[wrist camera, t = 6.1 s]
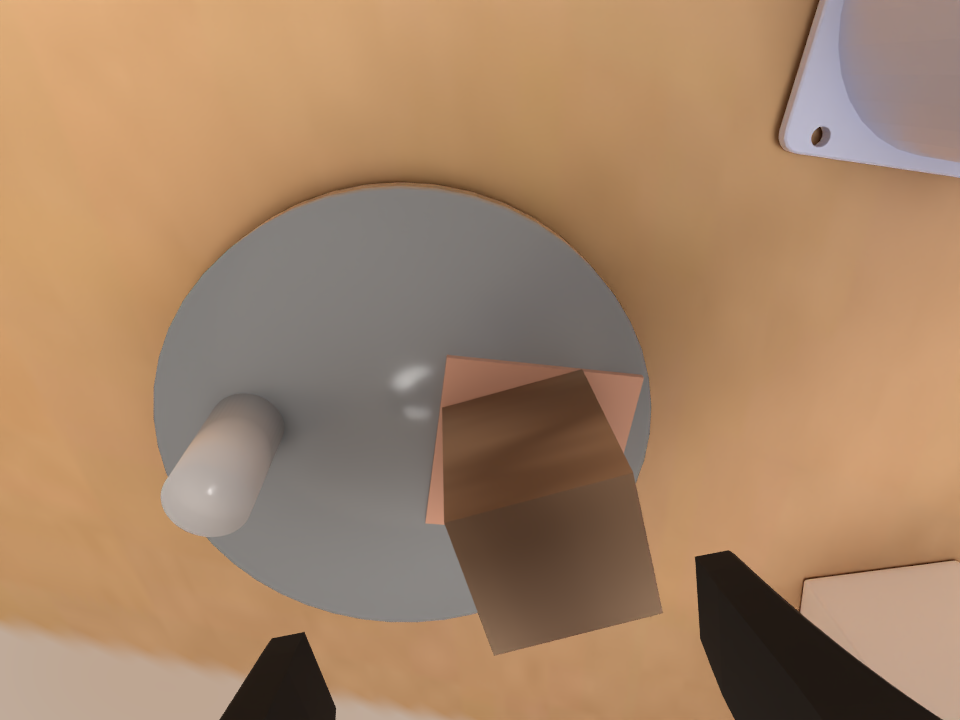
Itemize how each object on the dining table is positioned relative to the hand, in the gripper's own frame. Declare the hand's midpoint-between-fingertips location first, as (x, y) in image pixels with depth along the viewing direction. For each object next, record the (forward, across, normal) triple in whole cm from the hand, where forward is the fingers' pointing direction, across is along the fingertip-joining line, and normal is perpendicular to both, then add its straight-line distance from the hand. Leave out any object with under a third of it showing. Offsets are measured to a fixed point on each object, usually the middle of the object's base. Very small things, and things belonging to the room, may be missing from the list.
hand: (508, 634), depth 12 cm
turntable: (+9, +2, 0) cm, 10 cm away
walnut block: (+7, -1, +1) cm, 7 cm away
